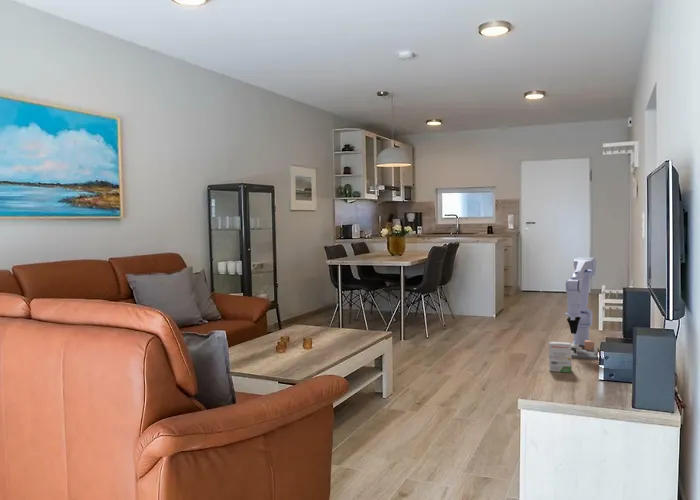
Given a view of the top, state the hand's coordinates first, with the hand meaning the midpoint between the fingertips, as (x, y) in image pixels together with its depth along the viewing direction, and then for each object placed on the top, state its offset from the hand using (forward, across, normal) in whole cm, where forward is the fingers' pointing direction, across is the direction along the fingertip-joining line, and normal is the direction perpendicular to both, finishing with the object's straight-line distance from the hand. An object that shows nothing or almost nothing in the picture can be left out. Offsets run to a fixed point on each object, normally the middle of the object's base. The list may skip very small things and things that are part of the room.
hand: (573, 332), depth 279 cm
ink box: (+9, +41, -2) cm, 42 cm away
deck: (+8, +9, +4) cm, 13 cm away
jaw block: (+8, 0, +7) cm, 11 cm away
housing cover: (+7, +7, 0) cm, 10 cm away
